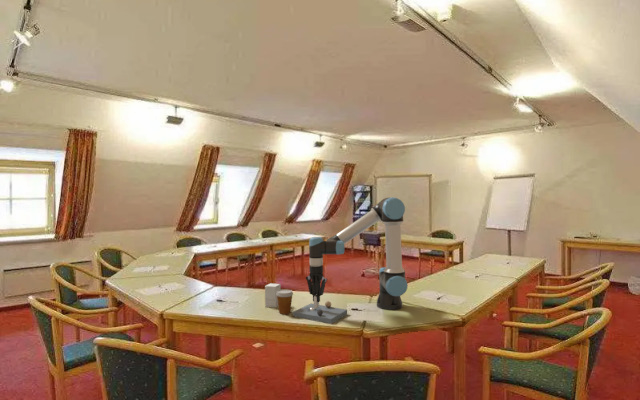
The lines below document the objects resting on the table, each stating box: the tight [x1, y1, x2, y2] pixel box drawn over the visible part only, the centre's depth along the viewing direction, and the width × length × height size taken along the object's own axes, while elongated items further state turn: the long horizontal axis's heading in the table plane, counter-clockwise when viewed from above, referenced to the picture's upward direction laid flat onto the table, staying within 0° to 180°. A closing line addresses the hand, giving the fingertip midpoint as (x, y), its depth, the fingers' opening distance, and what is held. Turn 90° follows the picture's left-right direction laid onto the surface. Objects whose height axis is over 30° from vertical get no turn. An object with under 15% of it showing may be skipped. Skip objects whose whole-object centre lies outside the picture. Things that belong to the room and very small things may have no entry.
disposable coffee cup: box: [276, 289, 294, 315], centre depth 206 cm, size 10×10×12 cm
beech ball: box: [324, 300, 332, 308], centre depth 206 cm, size 4×4×4 cm
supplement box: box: [264, 282, 282, 309], centre depth 219 cm, size 7×7×13 cm
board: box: [292, 303, 348, 325], centre depth 200 cm, size 24×18×2 cm
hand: (316, 307), depth 202 cm, fingers closed
